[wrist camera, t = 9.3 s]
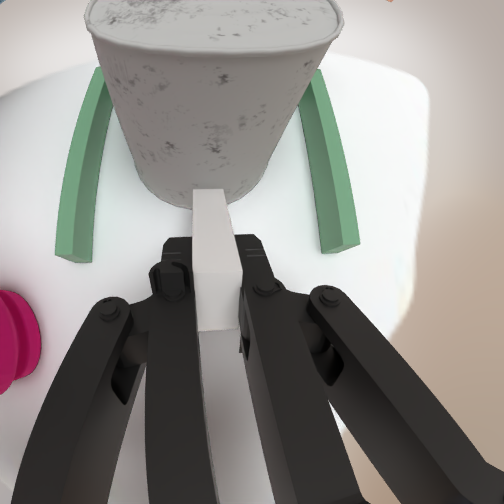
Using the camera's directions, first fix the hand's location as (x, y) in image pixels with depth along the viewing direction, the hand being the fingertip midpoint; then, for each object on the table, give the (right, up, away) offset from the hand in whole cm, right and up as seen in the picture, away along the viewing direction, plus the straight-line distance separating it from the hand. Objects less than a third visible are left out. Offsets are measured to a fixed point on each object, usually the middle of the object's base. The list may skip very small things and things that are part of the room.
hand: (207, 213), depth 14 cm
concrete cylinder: (-1, +5, +4) cm, 7 cm away
